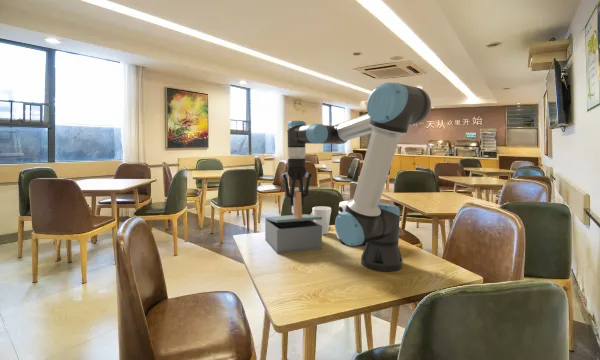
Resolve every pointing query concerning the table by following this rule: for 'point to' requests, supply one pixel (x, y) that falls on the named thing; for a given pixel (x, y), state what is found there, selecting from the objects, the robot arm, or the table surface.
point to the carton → (293, 236)
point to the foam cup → (325, 215)
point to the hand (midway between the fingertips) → (296, 212)
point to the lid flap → (298, 213)
